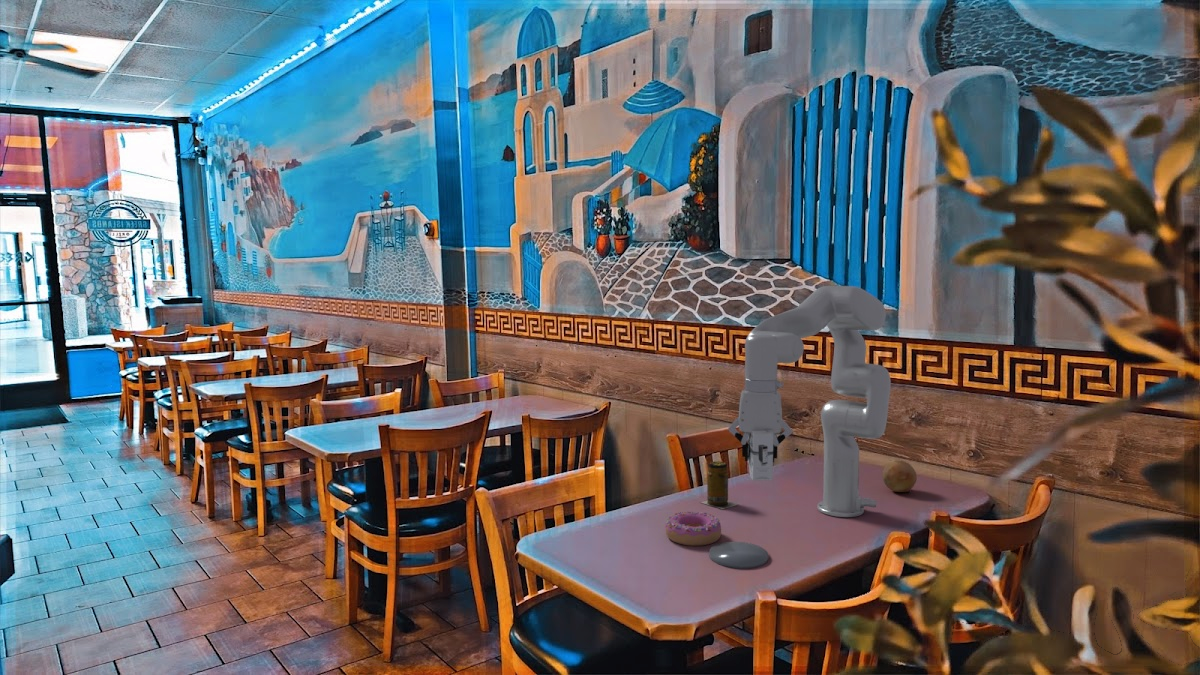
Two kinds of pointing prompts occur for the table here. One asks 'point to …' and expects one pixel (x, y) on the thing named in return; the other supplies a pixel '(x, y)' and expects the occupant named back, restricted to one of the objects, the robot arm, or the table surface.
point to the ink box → (760, 455)
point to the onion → (899, 476)
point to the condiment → (718, 486)
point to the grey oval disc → (738, 555)
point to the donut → (693, 528)
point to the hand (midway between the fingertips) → (759, 459)
